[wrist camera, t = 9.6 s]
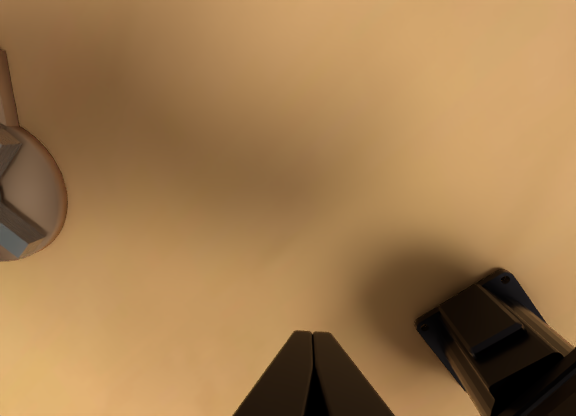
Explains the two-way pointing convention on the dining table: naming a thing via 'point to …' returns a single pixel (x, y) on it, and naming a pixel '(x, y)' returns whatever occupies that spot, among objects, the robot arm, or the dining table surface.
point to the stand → (29, 175)
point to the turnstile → (4, 222)
